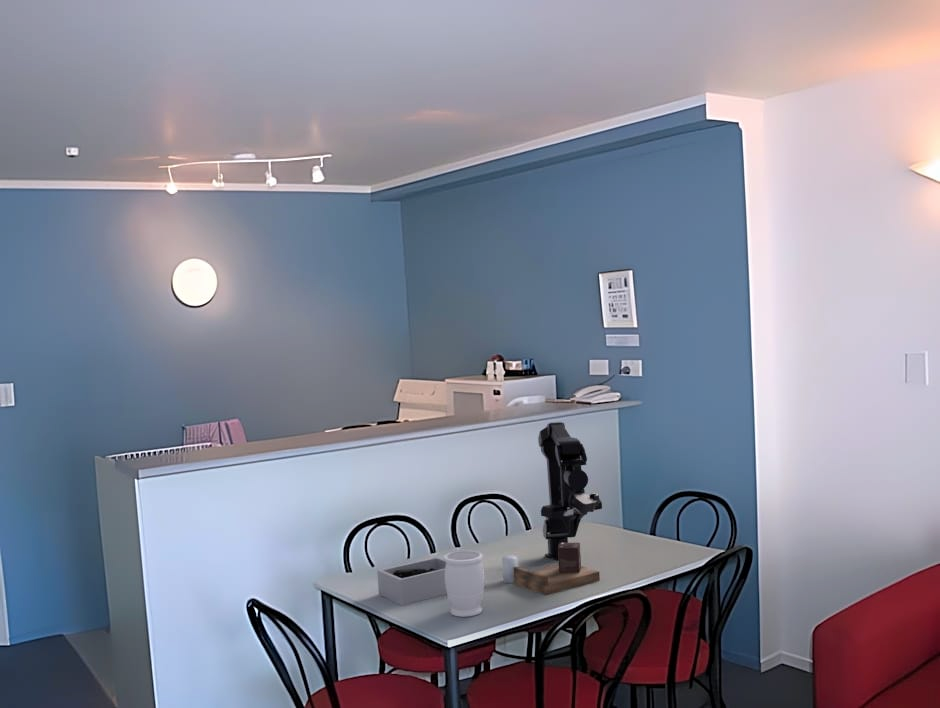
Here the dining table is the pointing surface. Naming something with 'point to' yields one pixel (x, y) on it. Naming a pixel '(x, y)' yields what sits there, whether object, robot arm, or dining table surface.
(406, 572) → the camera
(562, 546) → the box
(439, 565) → the box
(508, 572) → the white block
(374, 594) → the dining table surface
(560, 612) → the dining table surface
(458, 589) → the jar
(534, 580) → the striped wooden slab
